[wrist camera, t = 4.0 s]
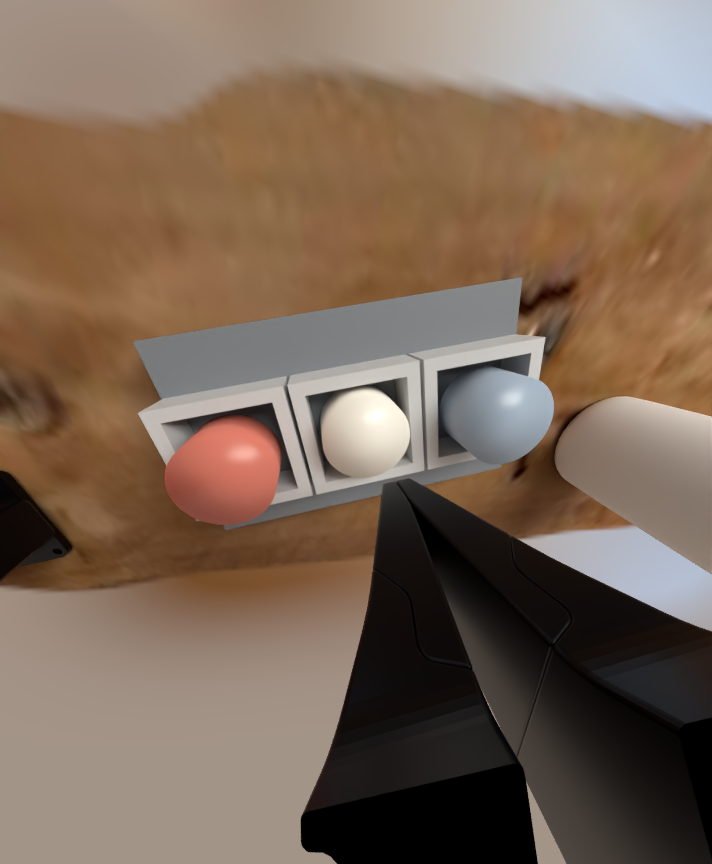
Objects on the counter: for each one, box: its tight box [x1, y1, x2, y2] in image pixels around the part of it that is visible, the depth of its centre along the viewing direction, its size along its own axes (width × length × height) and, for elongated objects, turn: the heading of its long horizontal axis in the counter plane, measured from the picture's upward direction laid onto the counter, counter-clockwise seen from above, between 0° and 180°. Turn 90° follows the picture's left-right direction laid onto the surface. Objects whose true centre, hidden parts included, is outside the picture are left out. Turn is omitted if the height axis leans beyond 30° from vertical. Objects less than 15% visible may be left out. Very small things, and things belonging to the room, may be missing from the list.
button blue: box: [439, 366, 554, 465], centre depth 12 cm, size 4×4×2 cm
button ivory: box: [320, 384, 410, 478], centre depth 13 cm, size 4×4×2 cm
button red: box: [164, 414, 282, 525], centre depth 11 cm, size 4×4×2 cm
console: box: [133, 278, 545, 530], centre depth 14 cm, size 18×11×4 cm, turn 99°
